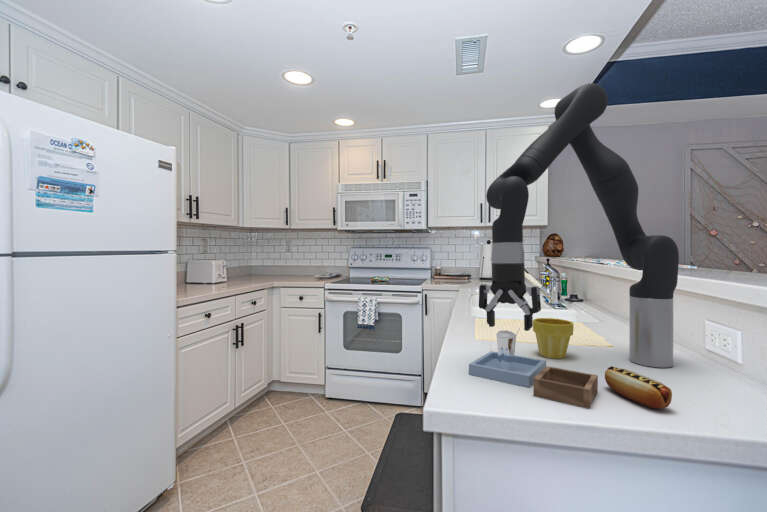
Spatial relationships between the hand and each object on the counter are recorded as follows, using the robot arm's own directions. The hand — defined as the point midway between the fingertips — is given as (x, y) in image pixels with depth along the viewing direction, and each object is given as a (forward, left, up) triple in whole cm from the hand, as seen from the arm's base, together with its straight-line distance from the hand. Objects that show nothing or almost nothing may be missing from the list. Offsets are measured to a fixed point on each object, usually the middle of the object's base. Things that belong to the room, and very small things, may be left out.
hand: (509, 328), depth 87 cm
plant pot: (-22, +5, -11) cm, 25 cm away
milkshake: (0, 0, -10) cm, 10 cm away
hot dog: (+1, +25, -11) cm, 27 cm away
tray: (0, 0, -11) cm, 11 cm away
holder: (+6, +14, -11) cm, 18 cm away
